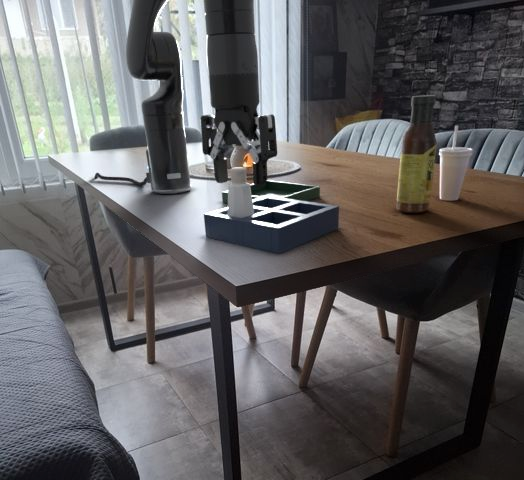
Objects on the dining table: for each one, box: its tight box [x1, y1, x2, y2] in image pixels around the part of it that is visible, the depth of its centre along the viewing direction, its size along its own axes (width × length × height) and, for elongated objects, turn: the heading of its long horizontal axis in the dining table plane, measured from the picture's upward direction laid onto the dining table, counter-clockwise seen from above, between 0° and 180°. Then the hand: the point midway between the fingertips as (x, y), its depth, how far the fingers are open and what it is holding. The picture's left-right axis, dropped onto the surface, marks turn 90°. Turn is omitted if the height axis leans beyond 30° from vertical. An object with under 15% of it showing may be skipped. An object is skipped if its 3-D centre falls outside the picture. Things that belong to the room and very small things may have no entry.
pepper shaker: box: [227, 166, 254, 218], centre depth 81 cm, size 5×5×11 cm
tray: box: [221, 179, 321, 204], centre depth 107 cm, size 15×15×2 cm
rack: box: [203, 196, 340, 255], centre depth 83 cm, size 16×16×4 cm
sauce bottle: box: [396, 94, 438, 214], centre depth 89 cm, size 7×6×20 cm
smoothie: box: [438, 125, 474, 202], centre depth 98 cm, size 6×6×14 cm
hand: (240, 184), depth 80 cm, fingers open, 8 cm apart
